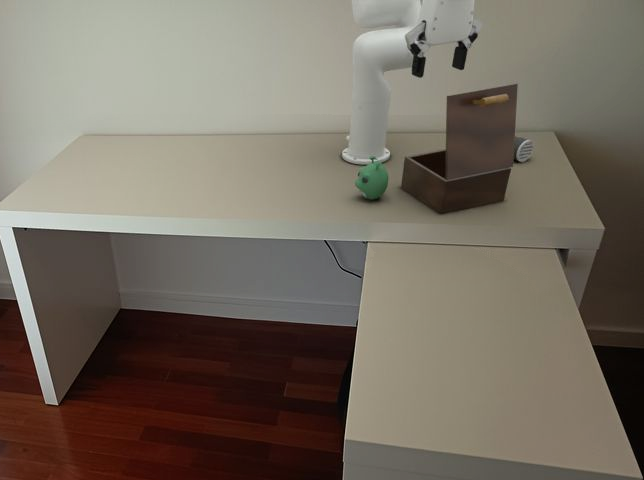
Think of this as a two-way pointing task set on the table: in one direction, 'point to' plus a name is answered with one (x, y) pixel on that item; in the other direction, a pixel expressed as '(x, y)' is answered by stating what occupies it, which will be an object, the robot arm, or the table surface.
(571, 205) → the table surface
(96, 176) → the table surface
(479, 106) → the lid
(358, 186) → the alien toy
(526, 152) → the flashlight
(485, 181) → the chest
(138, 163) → the table surface
